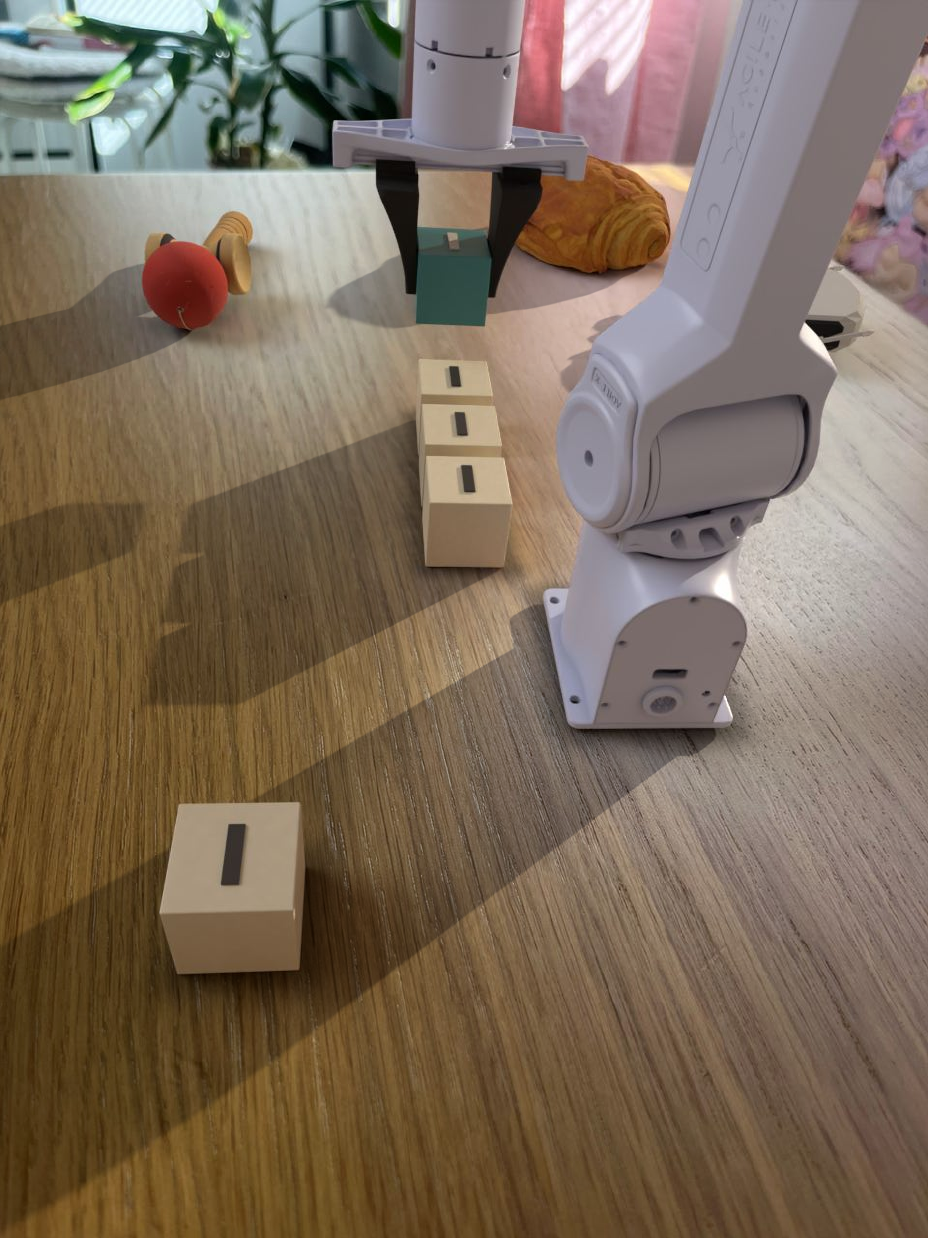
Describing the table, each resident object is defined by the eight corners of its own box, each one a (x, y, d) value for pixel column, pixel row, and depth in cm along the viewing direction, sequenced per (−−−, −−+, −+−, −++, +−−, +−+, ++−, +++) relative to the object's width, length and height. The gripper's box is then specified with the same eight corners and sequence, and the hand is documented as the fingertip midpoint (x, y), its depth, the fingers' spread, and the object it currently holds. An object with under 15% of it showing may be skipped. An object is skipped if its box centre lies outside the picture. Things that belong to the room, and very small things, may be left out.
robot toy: (667, 368, 72) (866, 379, 71) (676, 312, 69) (884, 323, 68) (660, 300, 81) (837, 309, 80) (668, 248, 78) (852, 257, 77)
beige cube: (503, 568, 52) (513, 502, 49) (425, 567, 51) (429, 501, 48) (496, 519, 55) (504, 455, 52) (422, 518, 54) (425, 453, 51)
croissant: (581, 227, 95) (588, 140, 91) (694, 262, 85) (709, 167, 81) (467, 246, 88) (469, 154, 84) (575, 287, 78) (584, 185, 74)
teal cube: (485, 326, 59) (491, 256, 56) (415, 324, 58) (418, 252, 55) (479, 296, 62) (485, 227, 59) (413, 293, 61) (416, 224, 58)
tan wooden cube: (494, 508, 56) (502, 444, 53) (421, 507, 55) (425, 442, 52) (487, 466, 59) (495, 404, 56) (418, 465, 58) (421, 401, 55)
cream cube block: (486, 456, 60) (493, 394, 57) (418, 455, 59) (421, 392, 56) (480, 420, 63) (486, 359, 60) (415, 418, 62) (418, 357, 59)
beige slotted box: (299, 971, 34) (293, 908, 31) (176, 975, 34) (158, 912, 31) (305, 865, 37) (300, 799, 34) (193, 868, 37) (178, 801, 34)
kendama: (184, 257, 81) (113, 322, 66) (191, 181, 77) (118, 232, 63) (272, 282, 82) (221, 351, 67) (283, 207, 78) (232, 264, 64)
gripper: (587, 36, 53) (553, 267, 63) (333, 17, 52) (337, 257, 61) (610, 68, 48) (569, 315, 58) (329, 48, 47) (334, 305, 56)
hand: (450, 289), depth 59 cm, fingers closed on teal cube, 4 cm apart
